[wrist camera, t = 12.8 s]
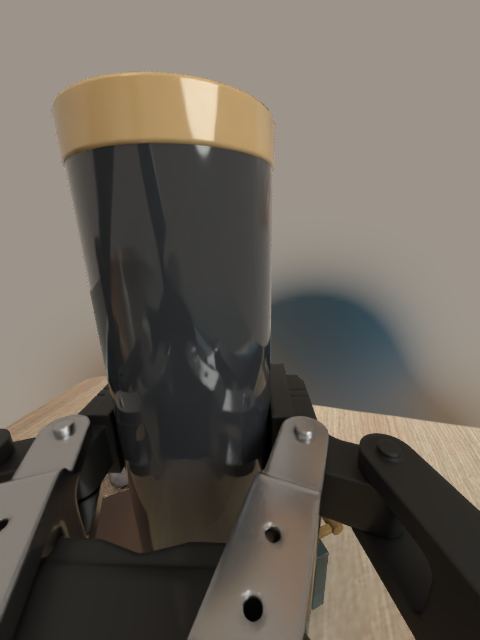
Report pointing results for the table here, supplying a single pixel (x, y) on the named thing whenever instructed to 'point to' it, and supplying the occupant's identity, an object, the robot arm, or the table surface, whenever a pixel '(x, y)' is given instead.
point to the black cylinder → (177, 285)
